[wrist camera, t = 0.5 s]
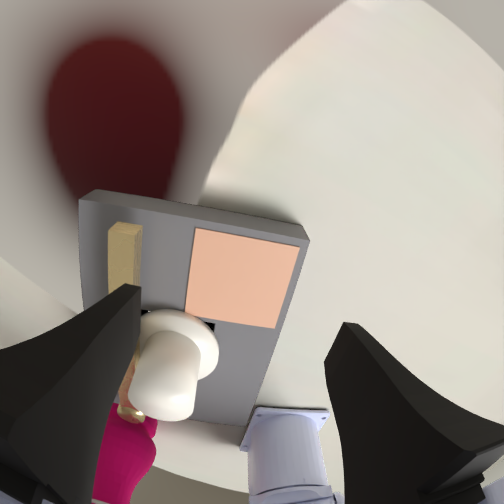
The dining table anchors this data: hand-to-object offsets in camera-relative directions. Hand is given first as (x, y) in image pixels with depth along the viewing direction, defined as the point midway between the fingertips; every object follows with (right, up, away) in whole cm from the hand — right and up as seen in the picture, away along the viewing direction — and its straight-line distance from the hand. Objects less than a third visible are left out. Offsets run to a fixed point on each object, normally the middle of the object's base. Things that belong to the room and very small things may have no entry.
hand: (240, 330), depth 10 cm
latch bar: (-8, -3, +9) cm, 12 cm away
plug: (-5, -3, +12) cm, 13 cm away
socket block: (-5, -3, +13) cm, 14 cm away
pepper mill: (-13, -15, +18) cm, 27 cm away
